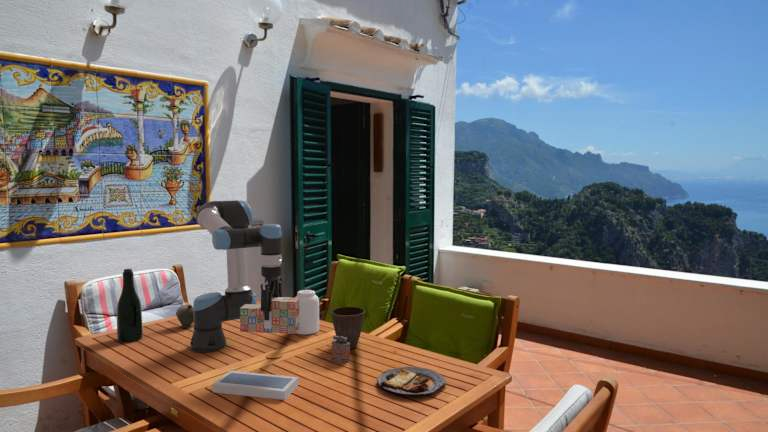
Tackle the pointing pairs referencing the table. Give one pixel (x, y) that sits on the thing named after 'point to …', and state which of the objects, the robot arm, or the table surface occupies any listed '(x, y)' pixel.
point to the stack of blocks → (282, 316)
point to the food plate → (410, 380)
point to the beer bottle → (129, 311)
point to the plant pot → (348, 323)
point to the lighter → (340, 349)
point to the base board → (256, 385)
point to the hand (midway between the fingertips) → (272, 325)
